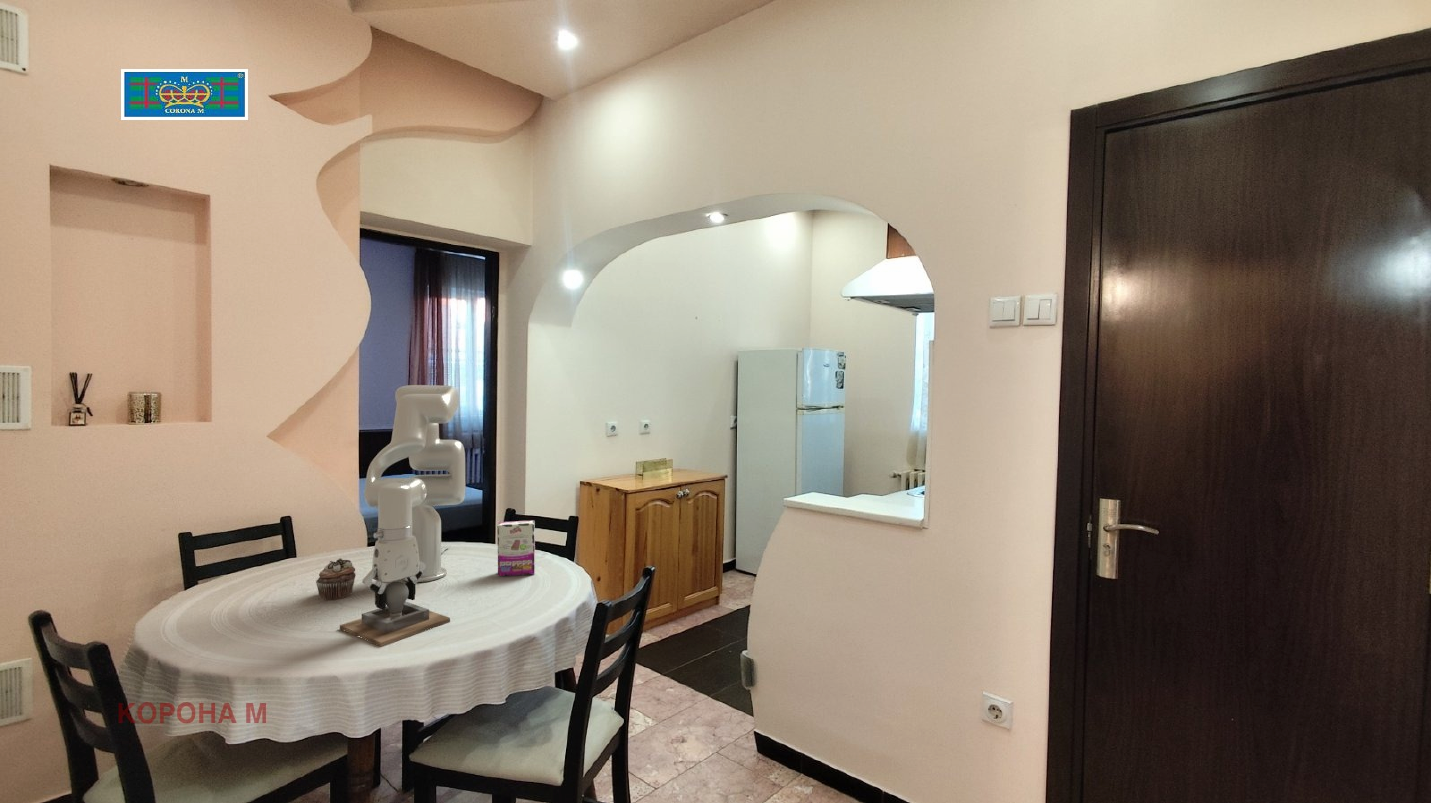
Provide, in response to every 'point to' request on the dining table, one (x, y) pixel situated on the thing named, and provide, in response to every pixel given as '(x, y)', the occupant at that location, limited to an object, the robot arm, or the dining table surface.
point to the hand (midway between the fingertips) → (395, 602)
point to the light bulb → (396, 598)
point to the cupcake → (336, 580)
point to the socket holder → (394, 624)
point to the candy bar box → (516, 548)
